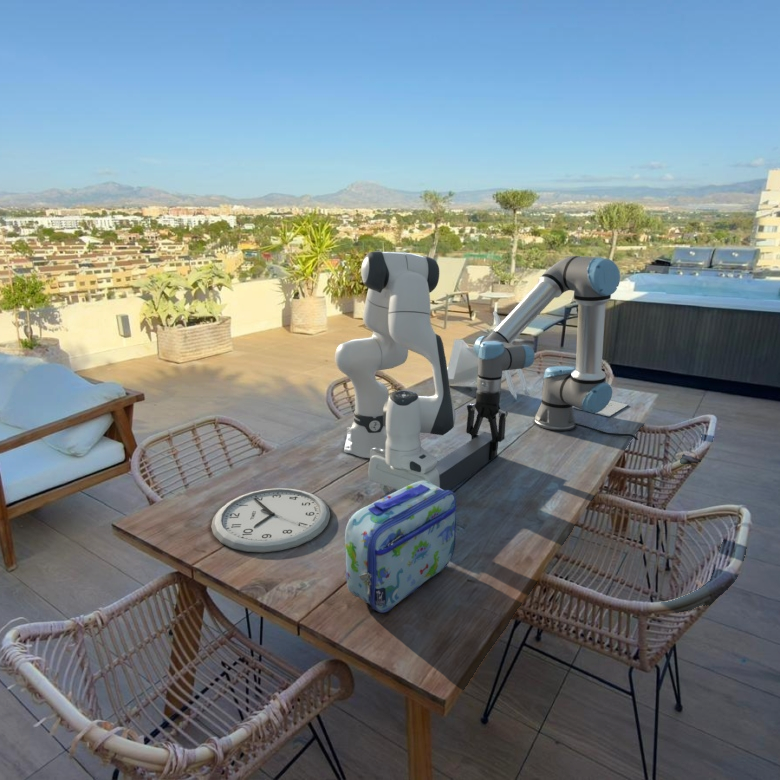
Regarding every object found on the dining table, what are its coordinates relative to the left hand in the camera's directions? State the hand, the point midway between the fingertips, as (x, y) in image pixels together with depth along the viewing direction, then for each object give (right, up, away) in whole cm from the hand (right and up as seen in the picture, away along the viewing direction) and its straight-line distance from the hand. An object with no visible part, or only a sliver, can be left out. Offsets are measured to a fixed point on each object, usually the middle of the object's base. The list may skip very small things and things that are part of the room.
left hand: (402, 504), depth 135 cm
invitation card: (+88, +22, +91) cm, 129 cm away
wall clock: (-34, -4, 0) cm, 34 cm away
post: (+14, +1, +20) cm, 24 cm away
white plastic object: (+39, +28, +108) cm, 118 cm away
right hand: (+28, +8, +38) cm, 48 cm away
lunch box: (-1, -12, -23) cm, 26 cm away
